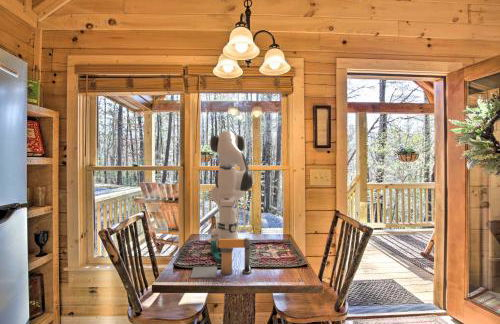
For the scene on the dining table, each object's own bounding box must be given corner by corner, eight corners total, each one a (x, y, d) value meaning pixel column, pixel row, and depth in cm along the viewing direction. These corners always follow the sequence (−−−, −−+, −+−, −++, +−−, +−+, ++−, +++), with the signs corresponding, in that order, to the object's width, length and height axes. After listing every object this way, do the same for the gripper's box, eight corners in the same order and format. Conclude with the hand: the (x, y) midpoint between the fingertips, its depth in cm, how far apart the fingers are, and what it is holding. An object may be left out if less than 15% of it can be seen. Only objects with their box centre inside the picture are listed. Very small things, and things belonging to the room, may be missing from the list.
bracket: (210, 252, 169) (210, 239, 169) (221, 251, 171) (221, 238, 171) (216, 263, 152) (216, 248, 152) (228, 262, 154) (228, 247, 154)
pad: (190, 278, 132) (190, 277, 132) (193, 268, 144) (193, 267, 144) (215, 278, 133) (215, 276, 133) (217, 267, 145) (217, 266, 145)
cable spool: (218, 272, 139) (218, 248, 139) (227, 269, 144) (227, 245, 143) (225, 276, 135) (225, 251, 135) (235, 272, 139) (235, 248, 139)
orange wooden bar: (250, 246, 141) (250, 238, 141) (250, 248, 138) (250, 240, 138) (218, 246, 140) (218, 238, 140) (218, 248, 137) (218, 240, 137)
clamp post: (240, 272, 140) (240, 247, 140) (247, 269, 143) (247, 245, 143) (246, 274, 137) (246, 249, 137) (253, 272, 140) (253, 247, 140)
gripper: (221, 196, 144) (221, 223, 144) (219, 203, 123) (219, 234, 124) (233, 196, 144) (233, 223, 144) (233, 203, 124) (233, 234, 124)
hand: (226, 228), depth 134 cm, fingers closed
